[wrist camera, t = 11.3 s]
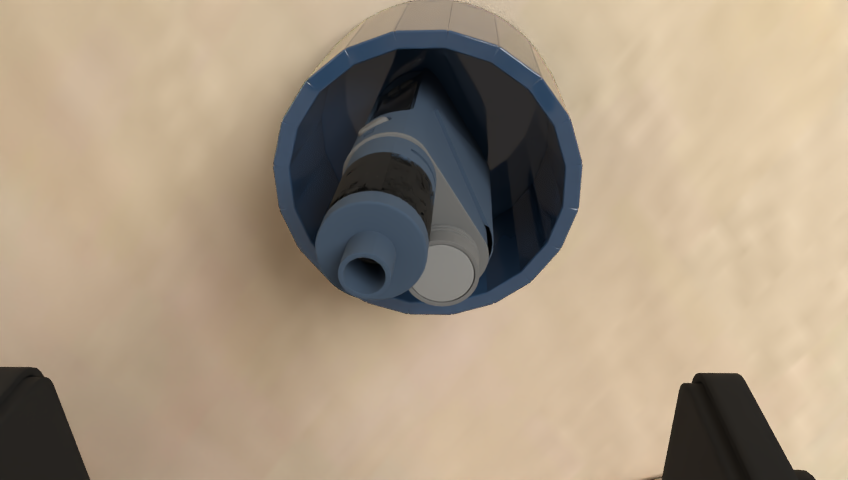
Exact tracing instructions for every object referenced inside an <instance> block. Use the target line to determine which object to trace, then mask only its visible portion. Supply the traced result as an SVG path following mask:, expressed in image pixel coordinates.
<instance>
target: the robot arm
mask: <svg viewBox="0 0 848 480" xmlns="http://www.w3.org/2000/svg"><path fill="white" fill-rule="evenodd" d="M0 480H90V478H89V476H88V473H87V471H86V468H85V465H84V463H83V460H82V458H81V455H80V452H79V450H78V447H77V445H76V442H75V439H74V437H73V434H72V432H71V429H70V426H69V424H68V421H67V419H66V416H65V413H64V411H63V408H62V406H61V403H60V400H59V398H58V395H57V393H56V390H55V387H54V385H53V383H52V381H51V380H50V379H49V378H47V377H44V376H43V374H42V373H41V371H40V370H38V369H37V368H32V367H0ZM662 480H815V478H814V477H813V476H812V475H811V474H809V473H808V472H807V471H804V470H793V468H792V466H791V465H790V463H789V461H788V459H787V457H786V455H785V454H784V452H783V450H782V448H781V446H780V444H779V443H778V441H777V439H776V437H775V435H774V433H773V431H772V430H771V428H770V426H769V424H768V422H767V420H766V419H765V417H764V415H763V413H762V411H761V409H760V408H759V406H758V404H757V402H756V400H755V398H754V396H753V395H752V393H751V391H750V389H749V387H748V385H747V384H746V382H745V380H744V379H743V377H742V376H741V375H739V374H738V373H698V374H696V375H695V376H694V378H693V381H692V383H683V384H682V385H681V386H680V390H679V394H678V399H677V404H676V410H675V415H674V420H673V425H672V430H671V435H670V440H669V445H668V451H667V456H666V461H665V466H664V471H663V476H662Z"/></svg>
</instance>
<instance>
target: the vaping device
mask: <svg viewBox="0 0 848 480" xmlns="http://www.w3.org/2000/svg"><path fill="white" fill-rule="evenodd" d="M358 134H359V135H358V137H357V139H356V141H355V143H354V145H353V148H352V150H351V152H350V153H349V155H348V157H347V159H346V161H345V163H344V167H343V173H342V178H341V181H340V183H339V185H338V187H337V190H336V192H335V194H334V196H333V199H332V201H331V203H330V206H329V207H330V208H329V209H328V210H327V212H326V214H325V217H324V219H323V221H322V223H321V225H320V228H319V230H318V233H317V236H316V241H315V253H316V258H317V262H318V264H319V266H320V269H321V270H322V272H323V273H324V275H325V277H326V278H327V279H328V280H329V281H330V282H331V283H332V284H333V285H334V286H336V287H337V288H338V289H340V290H341V291H343V292H345V293H347V294H349V295H351V296H354V297H357V298H361V299H366V300H384V299H389V298H393V297H396V296H398V295H401V294H403V293H404V292H406V291H407V290H409V291H410V292H411V294H412V295H413V296H415V297H416V298H417V299H419V300H420V301H422V302H424V303H427V304H429V305H434V306H450V305H455V304H457V303H460V302H462V301H464V300H465V299H467V298H468V297H469V296H470V295H471V294H472V293H473V292H474V290H475V289H476V287H477V284H478V281H479V278H480V277H481V275H482V274H483V272H484V271H485V269H486V267H487V264H488V262H489V260H490V257H491V255H492V253H493V241H494V240H493V222H492V204H491V187H490V169H489V166H488V164H487V162H486V161H485V159H484V157H483V153H482V151H481V149H480V147H479V146H478V144H477V142H476V141H475V139H474V138H473V136H472V134H471V133H470V131H469V129H468V128H467V126H466V124H465V123H464V121H463V119H462V118H461V116H460V114H459V113H458V111H457V109H456V108H455V106H454V104H453V103H452V101H451V99H450V98H449V96H448V94H447V93H446V91H445V89H444V88H443V86H442V84H441V83H440V81H439V79H438V78H437V77H436V75H435V74H434V73H432V72H431V71H430V70H428V69H426V68H424V71H414V72H410V73H407V74H404V75H402V76H400V77H398V78H397V79H395V80H394V81H393V82H391V83H390V84H389V85H388V86H387V88H386V89H385V90H384V92H383V93H382V96H381V97H380V96H378V97H377V99H376V101H375V103H374V106H373V108H372V110H371V112H370V115H369V117H368V119H367V121H366V123H365V126H364V127H363V128H361V129H360V131H359V133H358ZM338 194H339V195H338Z"/></svg>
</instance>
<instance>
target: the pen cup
mask: <svg viewBox="0 0 848 480" xmlns="http://www.w3.org/2000/svg"><path fill="white" fill-rule="evenodd" d="M424 68H426V69H428V70H430V71H431V72H432V73H434V74H435V75H436V77H437V78H438V79H439V81H440V83H441V84H442V86H443V88H444V89H445V91H446V93H447V94H448V96H449V98H450V99H451V101H452V103H453V104H454V106H455V108H456V109H457V111H458V113H459V114H460V116H461V118H462V119H463V121H464V123H465V124H466V126H467V128H468V129H469V131H470V133H471V134H472V136H473V138H474V139H475V141H476V142H477V144H478V146H479V147H480V149H481V151H482V153H483V157H484V159H485V161H486V162H487V164H488V166H489V169H490V187H491V204H492V222H493V240H494V241H493V253H492V255H491V257H490V260H489V262H488V264H487V267H486V269H485V271H484V272H483V274H482V275H481V277H480V278H479V281H478V284H477V287H476V289H475V290H474V292H473V293H472V294H471V295H470V296H469V297H468V298H467V299H465V300H464V301H462V302H460V303H457V304H455V305H450V306H434V305H429V304H427V303H424V302H422V301H420V300H419V299H417V298H416V297H415V296H413V295H412V294H411V292H410V291H409V290H407V291H406V292H404V293H403V294H401V295H398V296H396V297H393V298H389V299H384V300H366V299H361V298H359V299H361V300H363V301H364V302H366V301H367V303H369V304H373V305H377V306H380V307H384V308H387V309H391V310H394V311H398V312H402V313H405V314H408V313H409V314H425V315H451V314H457V313H461V312H464V311H468V310H472V309H476V308H480V307H483V306H487V305H491V304H493V303H496V302H498V301H500V300H501V299H503V298H505V297H506V296H508V295H510V294H512V293H513V292H515V291H517V290H518V289H520V288H522V287H523V286H525V285H527V284H528V283H530V282H531V281H532V280H533V279H534V278H535V277H536V276H537V275H538V274H539V273H540V271H541V270H542V269H543V268H544V267H545V266H546V265H547V264H548V263H549V262H550V261H551V259H552V258H553V257H554V256H555V255H556V254H557V253H558V252H559V251H560V249H561V248H562V245H563V243H564V241H565V239H566V237H567V234H568V232H569V230H570V228H571V225H572V223H573V221H574V219H575V216H576V214H577V212H578V208H579V202H580V190H581V178H582V166H583V165H582V159H581V155H580V152H579V148H578V144H577V140H576V137H575V133H574V129H573V126H572V122H571V119H570V116H569V114H568V111H567V109H566V106H565V104H564V102H563V99H562V97H561V94H560V92H559V89H558V87H557V85H556V82H555V80H554V77H553V75H552V73H551V71H550V70H549V69H548V67H547V65H546V64H545V62H544V61H543V59H542V57H541V56H540V54H539V53H538V51H537V50H536V48H535V47H534V46H533V45H532V44H531V42H530V41H529V40H528V39H527V38H526V37H525V36H524V35H523V34H522V33H521V32H520V31H519V30H517V29H516V28H515V27H514V26H513V25H511V24H510V23H508V22H507V21H505V20H504V19H502V18H501V17H500V16H498V15H496V14H494V13H491V12H489V11H487V10H485V9H483V8H480V7H477V6H474V5H471V4H468V3H464V2H459V1H453V0H415V1H410V2H406V3H402V4H398V5H395V6H392V7H390V8H387V9H385V10H382V11H380V12H378V13H376V14H375V15H373V16H370V17H369V18H367V19H366V20H364V21H363V22H362V23H360V24H359V25H358V26H356V27H355V28H354V29H353V30H352V31H351V32H350V33H349V34H348V35H346V36H345V37H344V38H343V39H342V40H340V41H339V42H338V43H337V44H336V45H335V47H334V48H333V49H332V50H331V51H330V53H329V54H328V55H327V56H326V57H325V58H324V60H323V61H322V62H321V63H320V64H319V66H318V67H317V68H316V69H315V70H314V71H313V73H312V74H311V75H310V76H309V77H308V79H307V80H306V81H305V82H304V84H303V86H302V87H301V89H300V91H299V92H298V94H297V96H296V97H295V99H294V101H293V102H292V104H291V106H290V107H289V109H288V111H287V112H286V114H285V116H284V117H283V121H282V122H281V126H280V131H279V136H278V141H277V146H276V152H275V157H274V162H273V165H274V166H273V170H274V177H275V184H276V191H277V198H278V205H279V209H280V212H281V214H282V216H283V218H284V220H285V222H286V224H287V226H288V228H289V230H290V232H291V234H292V236H293V238H294V240H295V242H296V244H297V246H298V248H299V249H300V250H301V252H302V253H303V254H304V255H305V256H306V257H307V258H308V259H309V260H310V261H311V262H312V263H313V264H314V265H315V266H316V267H317V268H318V270H319V271H320V272H321V273H322V274H323V275H324V273H323V272H322V270H321V269H320V266H319V264H318V262H317V258H316V253H315V241H316V236H317V233H318V230H319V228H320V225H321V223H322V221H323V219H324V217H325V214H326V212H327V210H328V209H329V208H330V207H329V206H330V203H331V201H332V199H333V196H334V194H335V192H336V190H337V187H338V185H339V183H340V181H341V178H342V173H343V167H344V163H345V161H346V159H347V157H348V155H349V153H350V152H351V150H352V148H353V145H354V143H355V141H356V139H357V137H358V135H359V134H358V133H359V131H360V129H361V128H363V127H364V126H365V123H366V121H367V119H368V117H369V115H370V112H371V110H372V108H373V106H374V103H375V101H376V99H377V97H378V96H380V97H381V96H382V93H383V92H384V90H385V89H386V88H387V86H388V85H389V84H390V83H391V82H393V81H394V80H395V79H397V78H398V77H400V76H402V75H404V74H407V73H410V72H414V71H424ZM338 195H339V194H338ZM324 276H325V275H324Z"/></svg>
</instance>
